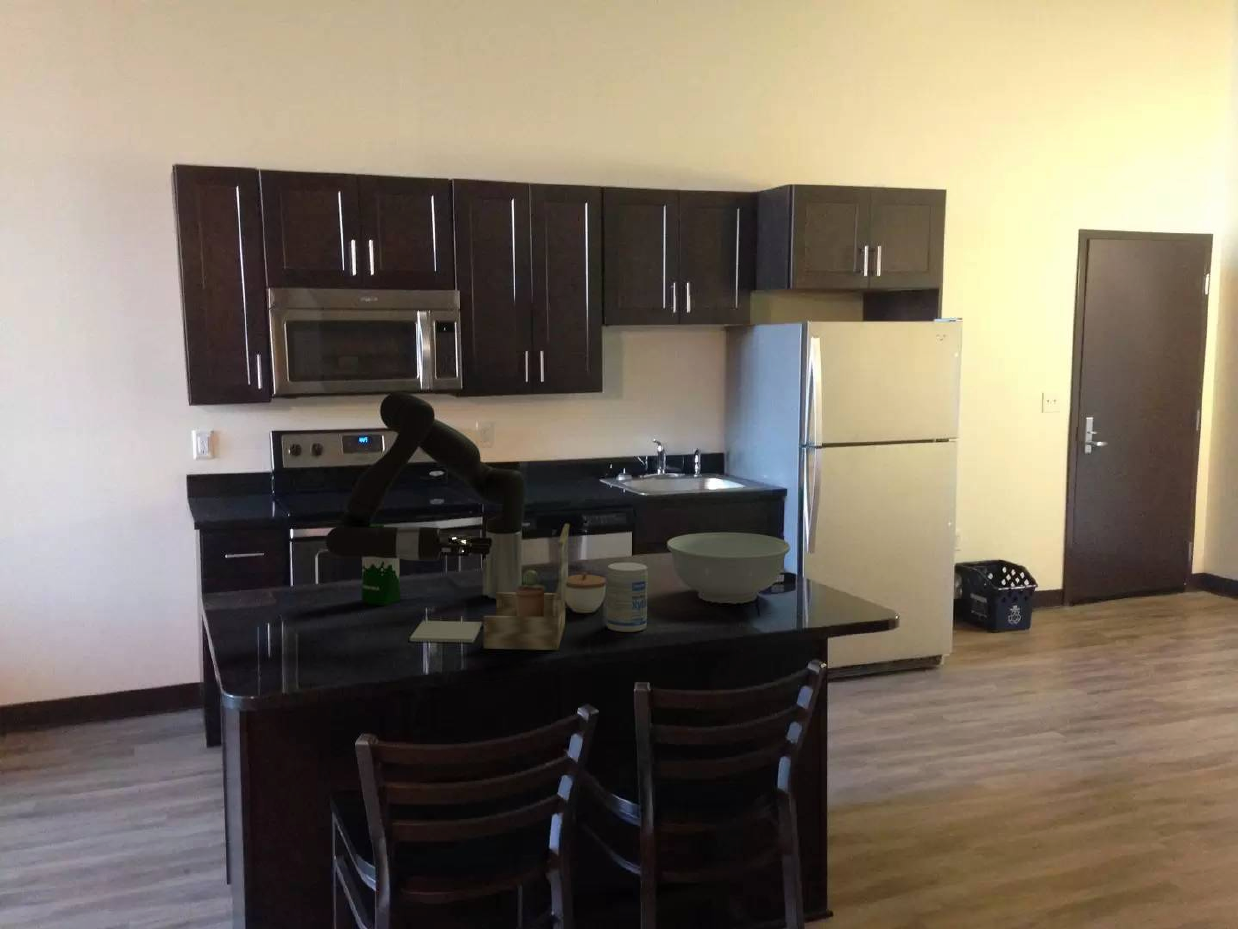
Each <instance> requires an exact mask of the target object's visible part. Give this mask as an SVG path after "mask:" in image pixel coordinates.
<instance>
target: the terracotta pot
mask: <svg viewBox="0 0 1238 929" xmlns="http://www.w3.org/2000/svg"><path fill="white" fill-rule="evenodd" d="M522 582H523V583H524V584H522V585H519V586H517V587H516V594H517V616H531V617H544V594H545V593H546V587H545V586H544V585H542V584H538V582H539V574H538V573H537V572H536V571H535V570H532V569H528V570H526V571H525V572H524V573H523V575H522Z"/></svg>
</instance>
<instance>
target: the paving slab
mask: <svg viewBox="0 0 1238 929" xmlns="http://www.w3.org/2000/svg"><path fill="white" fill-rule="evenodd" d="M481 626H482V627H483V622H482V621H454V620H453V621H452V620H450V621H447V620H446V621H445V620H441V621H439V620H422V621H421V622H420V623H419V625H418V626H417V628H416V629H415V631H414V632H413V633H412V634H411V635H410V636H409V642H422V643H423V642H424V643H427V642H428V643H429V642H430V643H474V641H475V639H476V637H477V636H478V634H479V632H480V630H481V629H482V627H481ZM480 628H481V629H480Z"/></svg>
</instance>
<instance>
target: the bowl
mask: <svg viewBox="0 0 1238 929" xmlns="http://www.w3.org/2000/svg"><path fill="white" fill-rule="evenodd" d="M666 547H667V549H668V550H669V551H670V553H671V556H672V562H673V567H674V570H675V572H676V575H677V576H678V578H679V579H680V580H681V581H682V583H684V584H685V585H687V586H688V587H689V588H690V589H693V590H695V591H697V597H698V598H699V599H700V598H701V599H700V600H702V599H703V601H705V602H708V601H711V602H710V603H713V602H718V603H717V604H722V603H729V604H728V605H734V604H735V605H736V604H737V603H740V604H746V602H747V603H750V601H751V602H753V601H755V600H757V597H758V593H759V592H761V591H764V590H766V589H768V588H769V587H771V586H772V585H773V584H775V583H776V582H777V580H778V578H779V577H780V575H781V573H782V570H783V565H784V560H785V557H786V555H787V553H789V552H790V551H791V545H790V543H789V542H787V541H786V540H783V539H781V538H778V537H776V536H769V535H764V534H756V533H746V532H702V533H701V532H700V533H691V534H690V533H689V534H684V535H679V536H675V537H673V538H671V539H668V540H667V542H666ZM730 603H732V604H730ZM737 605H738V604H737Z"/></svg>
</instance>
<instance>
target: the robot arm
mask: <svg viewBox="0 0 1238 929" xmlns="http://www.w3.org/2000/svg"><path fill="white" fill-rule="evenodd" d="M379 414H380V418H381V421H382V423H383V424H384V425H385V426H386V428H387V429H389V430H391V431H392V432H394V433H396V434H397V436H396V438H395V441H394V442H393V444H392V445H391V447H390V449H388V451H387V452H386V453H385V454H384V455H383V456H382V457H380V458H379V459H378V460H377V461H376V462H374V463H373V464H372V465H370V466H369V467H368V468H367V469H366V470H365V471H364V472H363V473H362V474H361V475H360V477H359V478H358V480H357V482H356V483H355V485H354V487H353V489H352V491H351V493H350V495H349V497H348V498H347V501H346V504H345V511H344V512H343V514H342V515H341V516H342V517H340V518H341V519H340V520H339V523H338V524H337V526H335V527H333V528H332V529H331V530H329V532H328V533H327V535H326V537H325V546H326V549H327V551H328V552H329V553H330V554H331V555H333V556H335V557H337V558H362V557H379V558H398V559H399V560H404V561H426V562H427V561H429V562H437V561H439V560H440V558H441V555H442V556H443V557H445V556H450V557H465V558H467V557H469V556H471V555H485V558H484V559H483V560H482V595H483V596H485V595H487V596H488V597H487V596H486V597H487V598H489V597H490V598H489V599H492V598H494V599H493V600H497V592H516V587H517V586H519V585H523V584H522V582H523V575H522V569H523V568H522V565H523V564H522V562H523V561H522V557H523V556H522V552H523V549H522V546H523V544H522V543H523V542H522V539H523V537H522V532H523V531H522V530H523V528H522V527H523V522H524V519H525V507H526V504H525V503H526V481H525V478H524V475H523V473H522V472H520V471H518V470H515V469H505V468H496V467H492V466H489V465H487V464H486V463H485V462H483V461H482V460H481V451H480V450H479V448H478V446H477V445H476V444H475V442H473V441H472V440H471V439H469V438H468V437H467V436H465V435H464V434H463V433H462V432H460V431H458V430H457V429H455V428H454V427H453V426H449V425H448V424H447V423H444V422H443V421H441V420H438V419H436V418H435V415H436V413H435V410H434V408H433V406H432V405H431V404H430V403H429V402H428V401H425V400H424V399H421V398H419V397H417V396H415V395H412V394H410V393H408V392H403V391H396V392H393V393H390V394H388V395H386V396H385V397H384V399H383V400H382V401H381V404H380V408H379ZM418 448H420V450H421V451H423V452H424V453H425V454H426V455H428V456H429V457H430V459H432V460H433V461H435V462H436V463H437V464H438V465H440V466H441V468H443V469H445V470H446V471H448V472H449V473H450V474H453V475H454V476H455V477H456V478H458V479H459V480H461V481H462V482H464V483H465V484H467V485H468V486H469V487H470V488H471V489H472V490H473V492H475V493H476V494H477V495H478V496H479V497H480V498H481V499H482V500H483V501H485V502H486V503H488V504H492V505H500V506H501V512H500V514H498V515H497V516H494V517H490V518H488V519H487V520H486V521H485V522H486V523H485V535H486V536H485V537H481V536H480V537H478V536H476V535H474V534H456V533H455V534H452V533H448V534H447V536H444V537H442V529H441V528H440V527H433V526H429V527H428V526H426V527H425V526H401V527H397V526H384V527H376V528H370V525H371V524H372V522H373V520H374V519H375V516H376V515H377V513H378V511H379V510H380V507H381V506H382V503H383V502H384V500H385V498H386V496H387V494H388V492H389V490H390V488H391V487H392V485H393V483H394V482H395V480H396V479H397V477H399V476H398V475H399V474H400V473H401V471H402V470H403V469H404V468H405V466H406V465H407V463H408V462H409V461H410V460H411V458H413V457H412V456H413V455H414V454H415V452H416V451H417V450H418Z"/></svg>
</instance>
